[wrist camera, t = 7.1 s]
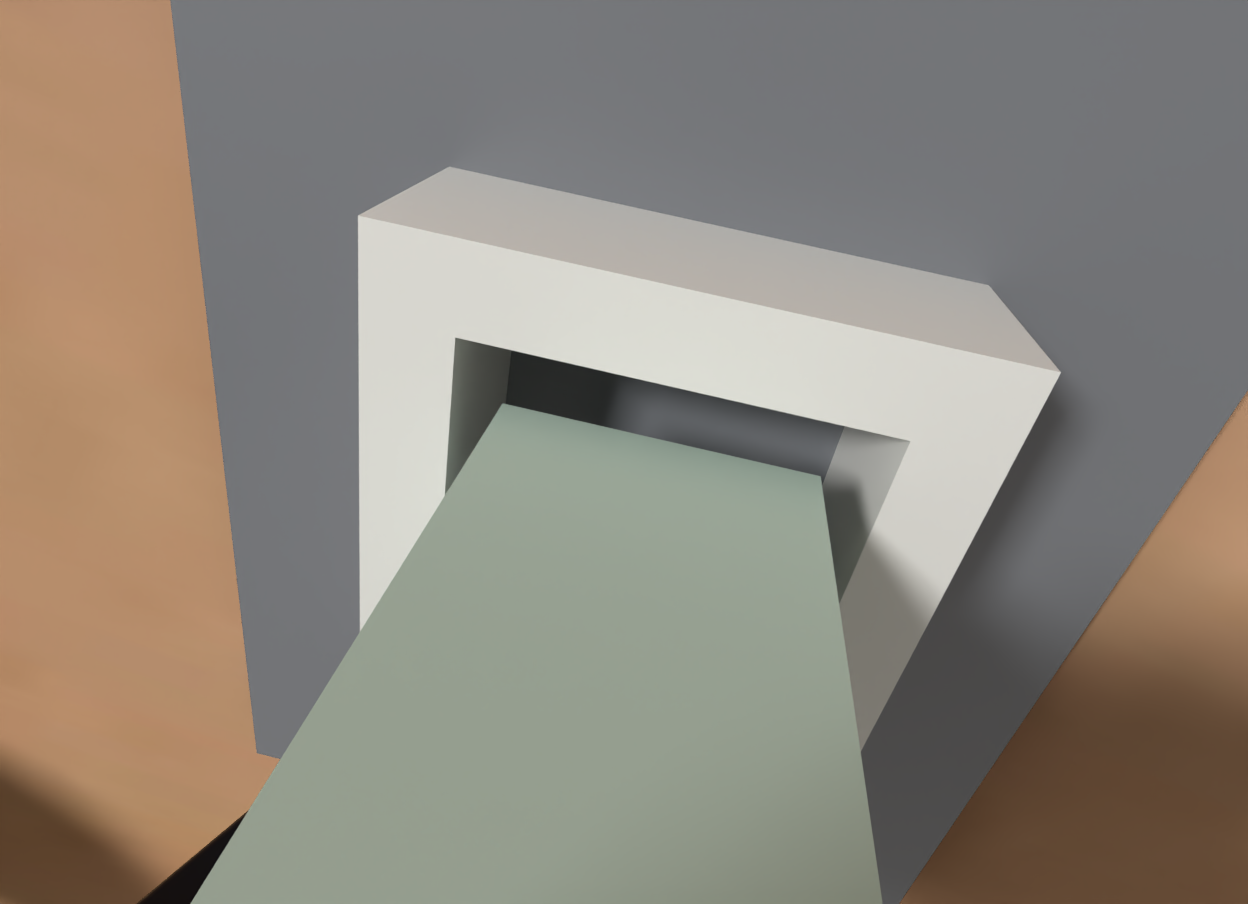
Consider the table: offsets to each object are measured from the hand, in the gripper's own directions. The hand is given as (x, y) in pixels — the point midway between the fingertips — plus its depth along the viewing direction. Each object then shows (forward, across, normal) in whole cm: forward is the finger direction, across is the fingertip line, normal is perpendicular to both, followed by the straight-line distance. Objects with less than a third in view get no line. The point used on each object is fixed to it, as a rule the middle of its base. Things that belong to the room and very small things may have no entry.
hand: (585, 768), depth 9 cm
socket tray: (+6, 0, 0) cm, 6 cm away
